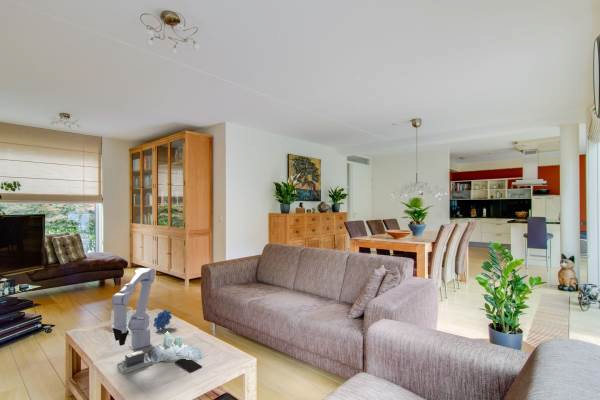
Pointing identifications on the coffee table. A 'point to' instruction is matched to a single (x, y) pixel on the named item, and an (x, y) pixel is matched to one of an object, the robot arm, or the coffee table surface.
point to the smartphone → (188, 365)
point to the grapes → (162, 319)
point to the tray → (124, 369)
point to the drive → (134, 358)
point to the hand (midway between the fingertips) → (120, 342)
